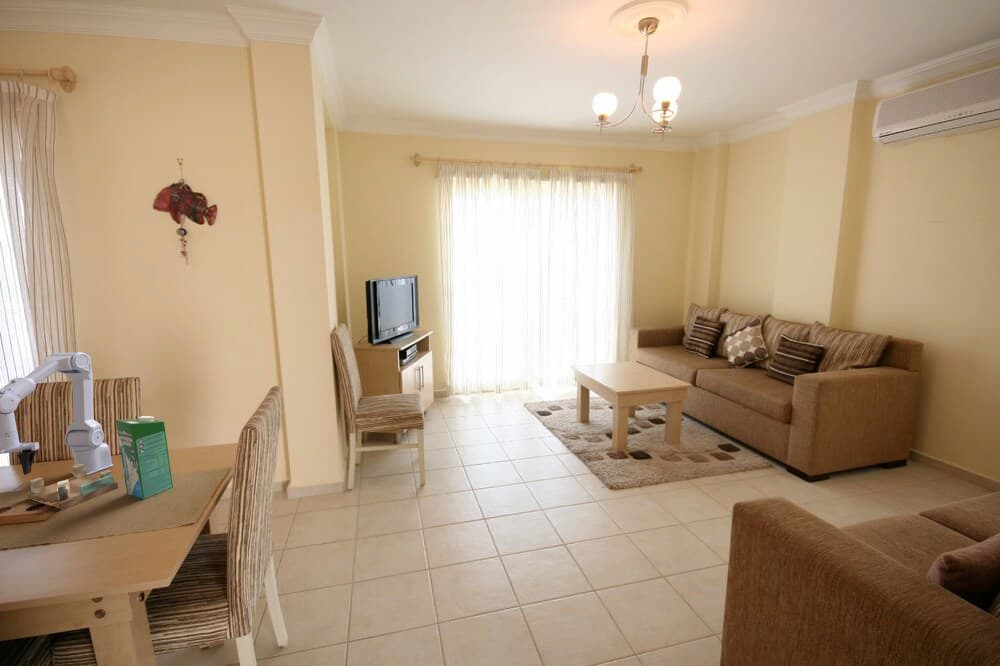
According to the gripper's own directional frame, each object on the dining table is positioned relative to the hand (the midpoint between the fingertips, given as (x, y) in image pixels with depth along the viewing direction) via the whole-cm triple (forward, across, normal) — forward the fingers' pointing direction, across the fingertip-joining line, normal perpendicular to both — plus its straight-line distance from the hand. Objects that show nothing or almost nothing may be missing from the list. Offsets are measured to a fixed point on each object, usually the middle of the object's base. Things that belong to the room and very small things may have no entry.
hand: (11, 475), depth 140 cm
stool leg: (+8, +12, -1) cm, 15 cm away
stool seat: (+10, +12, +4) cm, 17 cm away
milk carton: (+10, +36, -3) cm, 37 cm away
